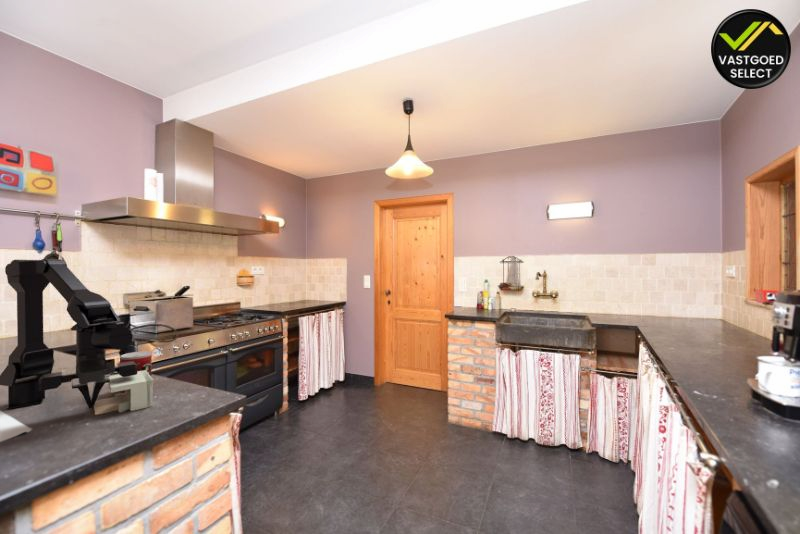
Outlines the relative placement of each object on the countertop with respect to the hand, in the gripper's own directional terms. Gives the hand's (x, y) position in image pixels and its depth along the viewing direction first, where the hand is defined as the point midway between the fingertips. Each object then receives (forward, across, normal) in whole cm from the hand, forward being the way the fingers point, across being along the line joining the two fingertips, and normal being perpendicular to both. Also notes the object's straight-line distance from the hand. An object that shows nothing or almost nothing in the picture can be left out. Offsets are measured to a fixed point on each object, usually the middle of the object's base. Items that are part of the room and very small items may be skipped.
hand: (91, 408), depth 89 cm
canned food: (+1, +11, +13) cm, 17 cm away
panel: (+2, +6, 0) cm, 6 cm away
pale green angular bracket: (+1, +9, 0) cm, 9 cm away
